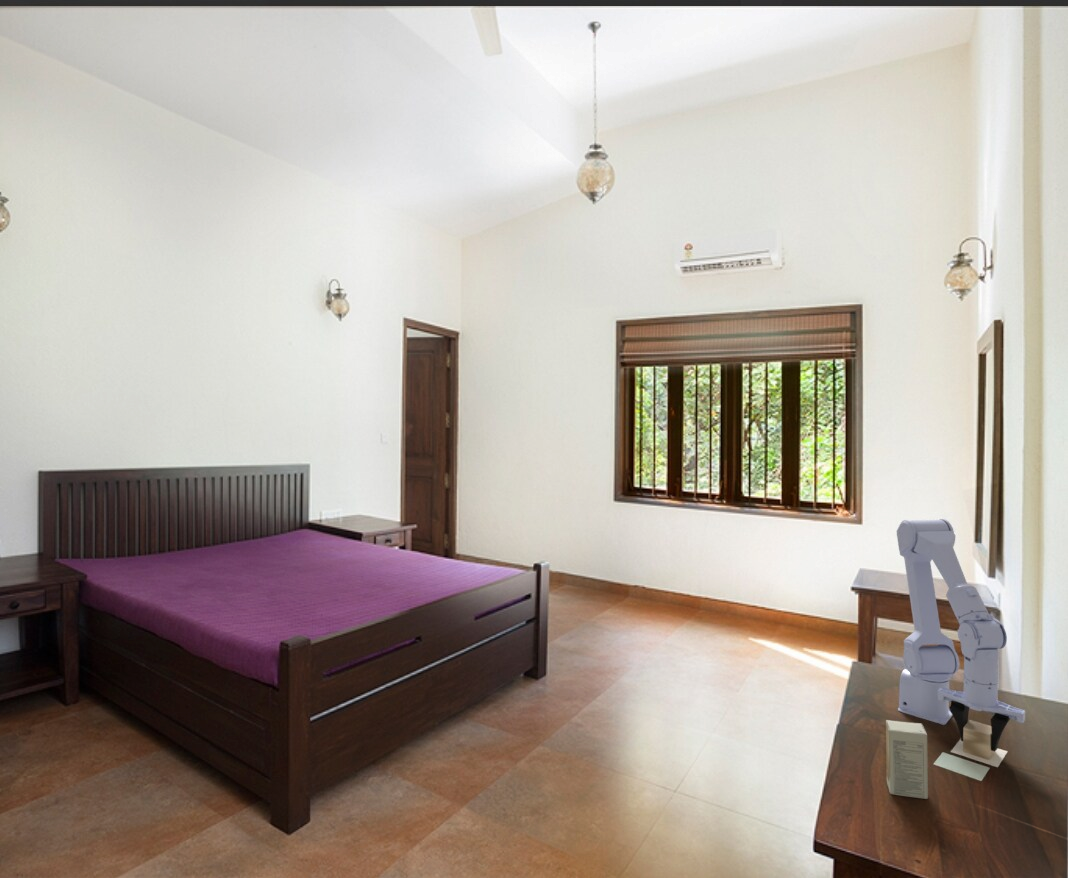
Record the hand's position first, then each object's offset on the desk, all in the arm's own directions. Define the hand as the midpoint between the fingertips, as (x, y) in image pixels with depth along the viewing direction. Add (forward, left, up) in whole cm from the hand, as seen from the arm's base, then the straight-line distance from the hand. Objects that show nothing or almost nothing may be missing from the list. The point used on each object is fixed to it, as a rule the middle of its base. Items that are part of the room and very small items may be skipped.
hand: (979, 744), depth 133 cm
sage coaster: (-1, -9, -2) cm, 9 cm away
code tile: (0, 0, -2) cm, 2 cm away
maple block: (0, 0, -2) cm, 2 cm away
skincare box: (-6, -24, -2) cm, 25 cm away
